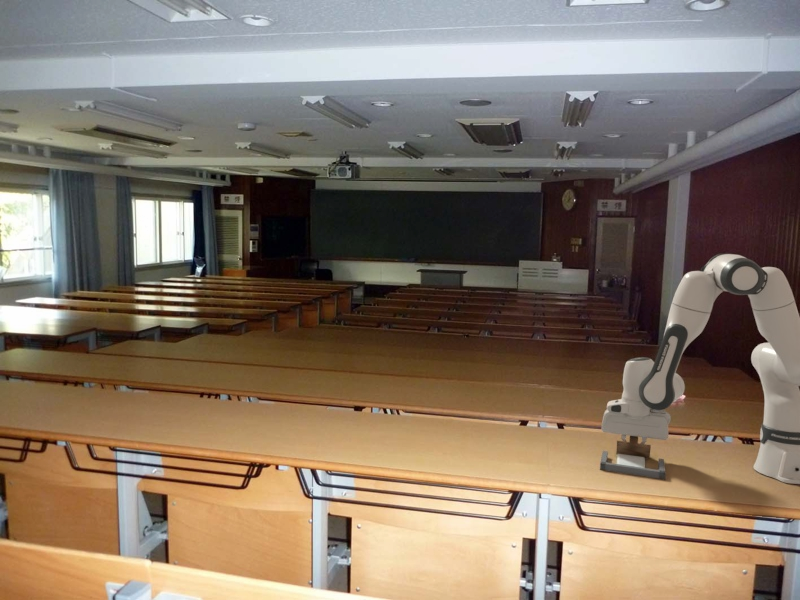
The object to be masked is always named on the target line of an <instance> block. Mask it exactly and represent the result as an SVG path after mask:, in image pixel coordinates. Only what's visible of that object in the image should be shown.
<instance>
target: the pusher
mask: <svg viewBox="0 0 800 600" xmlns="http://www.w3.org/2000/svg"><path fill="white" fill-rule="evenodd" d="M651 445H652V444H646V443H645V444H640V443H639V437H636V436H629V441H627V442H624V441H623V440H616V450H615V451H616V455H617V454H625V455H632V456H639V457H644V458H645V459H646V460H649V459H650V458H651V448H652V446H651Z"/></svg>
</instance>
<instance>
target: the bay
mask: <svg viewBox="0 0 800 600" xmlns="http://www.w3.org/2000/svg"><path fill="white" fill-rule="evenodd" d="M601 453H602V454H601V457H600V463H599V470H601V471H606V472H615V473H619V474H620V473H621V474H627V475H633V476H639V477H647V478H653V479H660V480H666V465H665V459H664V458H658V461H657V462H658V463H657V464H658V465H657V466H658V469H655V468H654V469H652V468H648V467H647V468H646V467H645V468H641V467H634V466H627V465H620V464H617V463H614V462H613V463H612V462H608V450H602V452H601Z"/></svg>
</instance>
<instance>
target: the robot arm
mask: <svg viewBox="0 0 800 600" xmlns="http://www.w3.org/2000/svg"><path fill="white" fill-rule="evenodd" d="M723 292H728V293H730V294H733V295H737V296H745V295H746V296H747V297H748V298H749V301H750V306H751V309H752V313H753V316H754V317H753V318H754V319H755V324H756V326H757V330H758V332H759V333H760V335H761V336H762V337H763V338H764V339H765V340H766V341H767V342H763V343H759V344H757V346H755V347H754V349H753V350H752V352H751V356H750V361H751V364H752V366H753V367H754V369H755V370H756V372H757V374H758V376H759V379H760V383H761V386H762V391H763V396H764V399H763V400H764V407H763V422H762V423H761V427H760V433H759V440H760V446H759V449H758V453H757V457H756V459H755V461H754V464H753V467H752V468H753V470H755V471H756V472H758V473H759V474H762V475H764V476H767V477H770V478H773V479H776V480H778V481H780V482H781V483H784V484H785V483H786V484H795V485H800V313H799V311H798V307H797V304H796V300H795V297H794V294H793V290H792V288H791V286H790V283H789V281H788V279H787V277H786V275H785V274H784V272H783V271H782V270H781V269H780V268H777V267H773V266H764V267H761V266H760V265H758V264H757V262H755V261H754V260H752V259H749V258H747V257H745V256H743V255H740V254H734V253H730V252H724V253H723V252H722V253H718V254H716V255H713V256H712V257H711V258H710V259H709V260H708V262H706V264H705V265H704V266H702V267H701V269H700V270H692V271H688V272H687V273H685V274H684V275H683V277H682V278H681V281H680V282H679V284H678V286H677V288H676V289H675V292H674V295H673V297H672V298H673V299H672V301H671V304H670V308H669V311H668V314H667V321H666V325H665V329H664V333H663V337H662V340H661V344H660V347H659V349H658V352H657V355H656V357H655V360H653V359H651V358H650V357H647V356H646V357H643V356H641V357H640V356H639V357H635V358H634V357H633V358H630V359H628V360H627V361H626V362H625V365H624V368H623V374H622V386H623V391H622V394H621V398H619V399H613V400H609V401H608V402H607V404H606V410H604V413H603V415H602V416H603V417H602V419H601V420H602V422H601V429H600V430H601V431H602V432H603V433H604V434H605V433H607V434H615V435H621V441H624V442H628V441H627V436H629V437H630V436H636V437H638V438H641V442H640V443H639V444H646V442H647V439H654V440H661V441H666V440H667V439H669V424H670V423H671V414H670V412H668V411H667V410H666V409H667V408H669V407H670V406H671V405H672V404H673V403H674V402H676V401H677V400H678V399H680V398H681V397H682V396H683V395H684V393H685V390H686V384H685V380H684V379H683V377H682V376H681V375H680V374H679V373H677V369H678V366H679V365H680V361H681V359H682V355H683V353H684V352H685V350H686V349H687V347H688V346H689V345H690V344H691V343H692V342H693V341H694V340H695V339H696V338H697V337H698V336H700V334H702V333H703V331H704V329H705V327H706V325H707V323H708V321H709V319H710V316H711V313H712V311H713V307H714V303H715V301H716V300H717V298H718V296H719V295H720V294H721V293H723Z"/></svg>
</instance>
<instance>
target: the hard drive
mask: <svg viewBox="0 0 800 600" xmlns="http://www.w3.org/2000/svg"><path fill="white" fill-rule="evenodd" d="M616 455H617V456H616V457H617V458H616V464H620V465H627V466H634V467H641V468H646V458H644V457H639V456H632V455H625V454H616Z"/></svg>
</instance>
